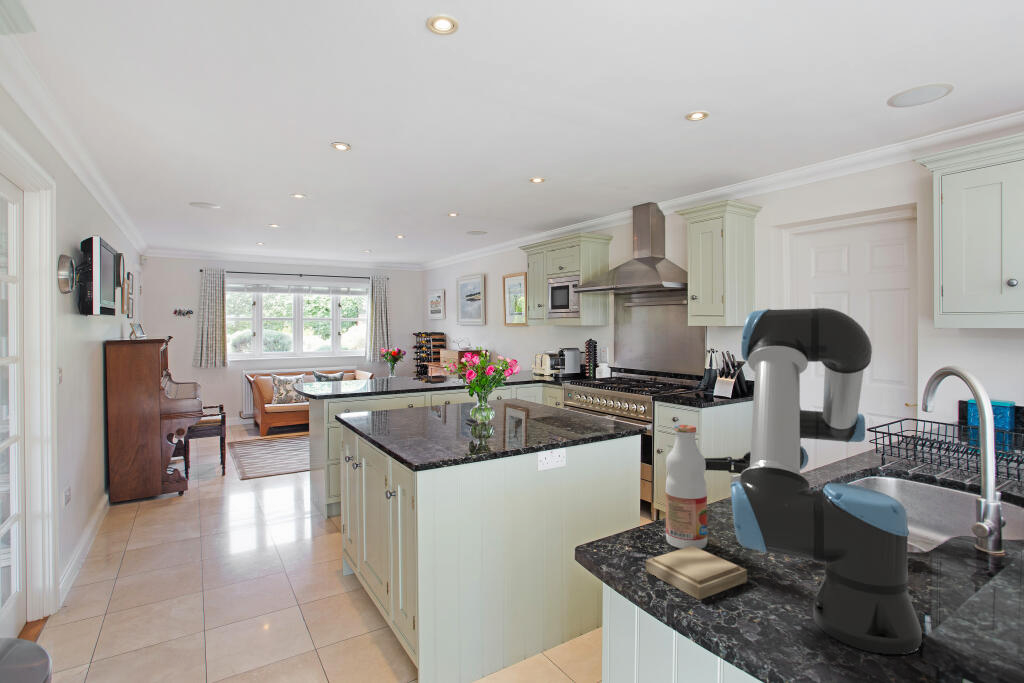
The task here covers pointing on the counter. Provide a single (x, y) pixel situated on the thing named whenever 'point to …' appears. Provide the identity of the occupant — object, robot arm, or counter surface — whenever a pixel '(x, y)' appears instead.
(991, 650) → the counter surface
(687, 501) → the fruit juice
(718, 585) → the board
